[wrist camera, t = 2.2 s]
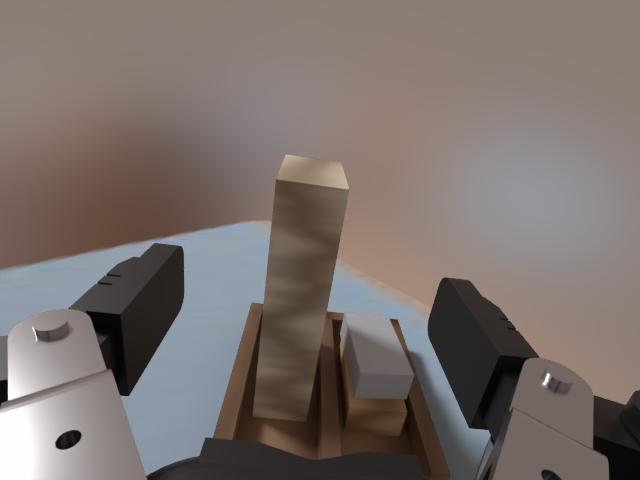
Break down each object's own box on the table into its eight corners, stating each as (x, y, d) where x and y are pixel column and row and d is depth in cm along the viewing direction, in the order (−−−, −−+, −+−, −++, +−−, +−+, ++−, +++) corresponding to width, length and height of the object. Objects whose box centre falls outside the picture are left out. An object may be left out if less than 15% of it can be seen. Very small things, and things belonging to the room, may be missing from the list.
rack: (207, 485, 23) (208, 453, 22) (249, 326, 37) (251, 302, 36) (437, 504, 24) (450, 475, 23) (390, 342, 38) (397, 319, 37)
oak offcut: (343, 431, 27) (349, 406, 26) (337, 355, 34) (342, 334, 33) (399, 436, 27) (407, 412, 26) (381, 360, 34) (387, 339, 33)
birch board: (252, 416, 27) (276, 179, 19) (264, 351, 33) (285, 154, 26) (306, 421, 27) (349, 189, 20) (308, 355, 33) (341, 162, 26)
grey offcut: (354, 397, 26) (360, 373, 25) (339, 333, 33) (344, 312, 32) (406, 399, 27) (414, 375, 26) (381, 336, 33) (387, 314, 32)
